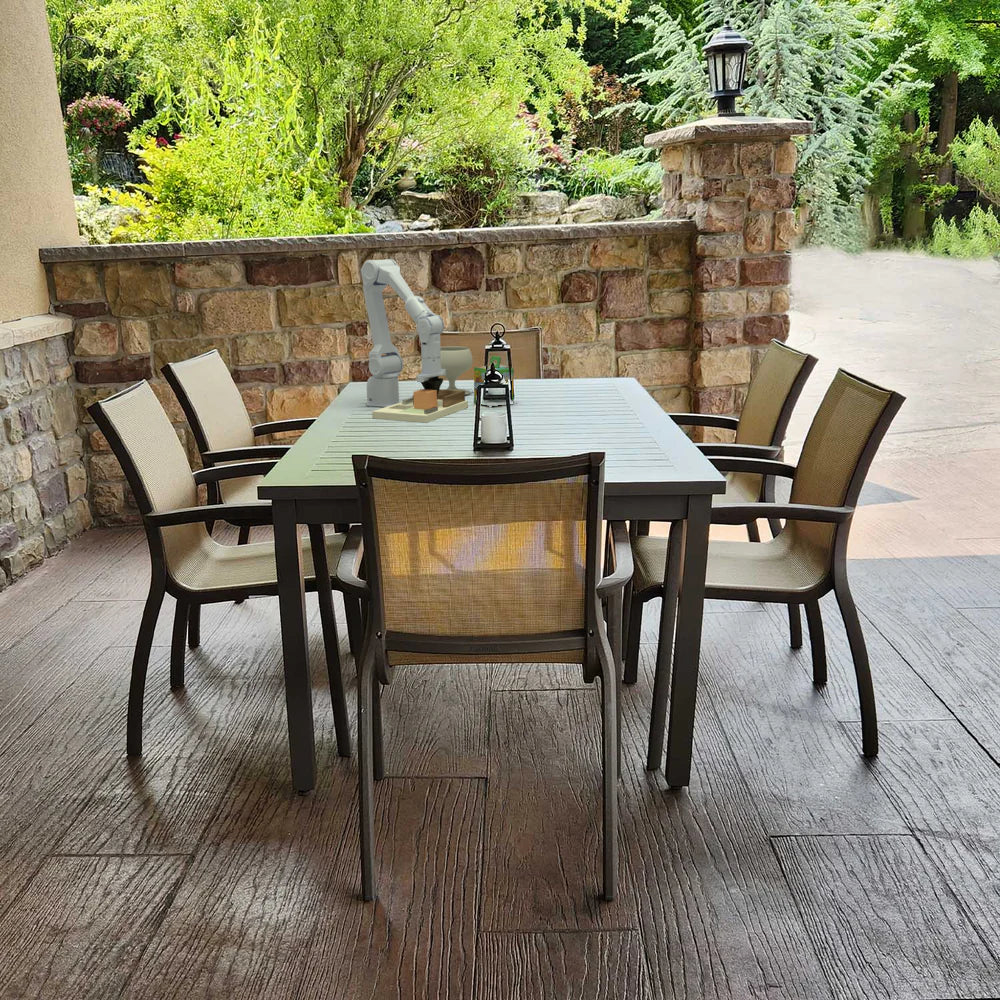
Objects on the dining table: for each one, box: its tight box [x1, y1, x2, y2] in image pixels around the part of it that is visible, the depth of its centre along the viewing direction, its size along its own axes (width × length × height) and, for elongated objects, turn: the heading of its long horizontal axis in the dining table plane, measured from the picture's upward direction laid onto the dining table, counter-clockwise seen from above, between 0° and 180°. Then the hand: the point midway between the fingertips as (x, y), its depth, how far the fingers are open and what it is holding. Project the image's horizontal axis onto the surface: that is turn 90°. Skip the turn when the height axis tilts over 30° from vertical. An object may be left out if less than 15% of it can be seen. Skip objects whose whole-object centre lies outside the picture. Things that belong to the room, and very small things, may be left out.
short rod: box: [424, 406, 438, 414], centre depth 288 cm, size 1×6×1 cm, turn 155°
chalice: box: [440, 345, 474, 396], centre depth 329 cm, size 14×14×15 cm
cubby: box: [412, 388, 466, 408], centre depth 303 cm, size 11×12×3 cm
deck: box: [371, 399, 469, 424], centre depth 299 cm, size 18×26×2 cm
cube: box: [413, 388, 437, 409], centre depth 295 cm, size 5×5×5 cm
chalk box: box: [473, 355, 515, 405], centre depth 310 cm, size 9×9×15 cm
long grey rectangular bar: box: [401, 396, 413, 405], centre depth 305 cm, size 3×9×1 cm, turn 155°
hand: (432, 402), depth 300 cm, fingers closed
